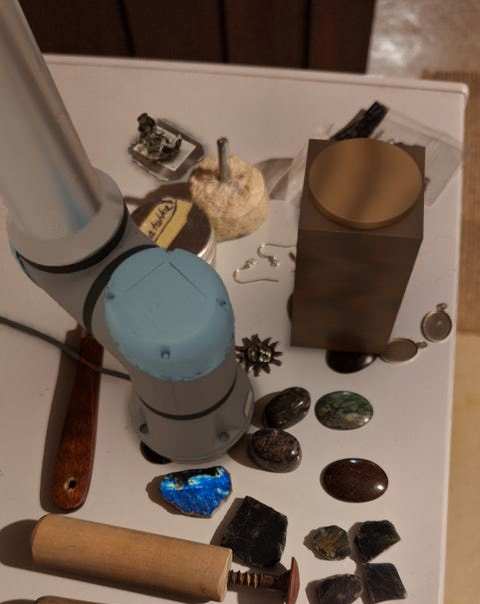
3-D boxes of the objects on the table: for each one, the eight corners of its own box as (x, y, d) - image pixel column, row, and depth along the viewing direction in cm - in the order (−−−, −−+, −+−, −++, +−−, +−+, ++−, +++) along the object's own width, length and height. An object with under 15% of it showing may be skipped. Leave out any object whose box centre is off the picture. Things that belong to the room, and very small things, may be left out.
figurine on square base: (202, 178, 92) (129, 153, 89) (190, 202, 98) (121, 179, 95) (213, 111, 95) (143, 84, 92) (201, 138, 101) (134, 114, 98)
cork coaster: (303, 224, 62) (304, 217, 61) (313, 142, 66) (313, 134, 65) (418, 233, 61) (420, 226, 60) (420, 149, 65) (422, 141, 64)
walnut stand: (289, 346, 81) (297, 228, 61) (298, 270, 86) (308, 138, 66) (383, 355, 80) (423, 238, 60) (387, 278, 85) (425, 146, 65)
